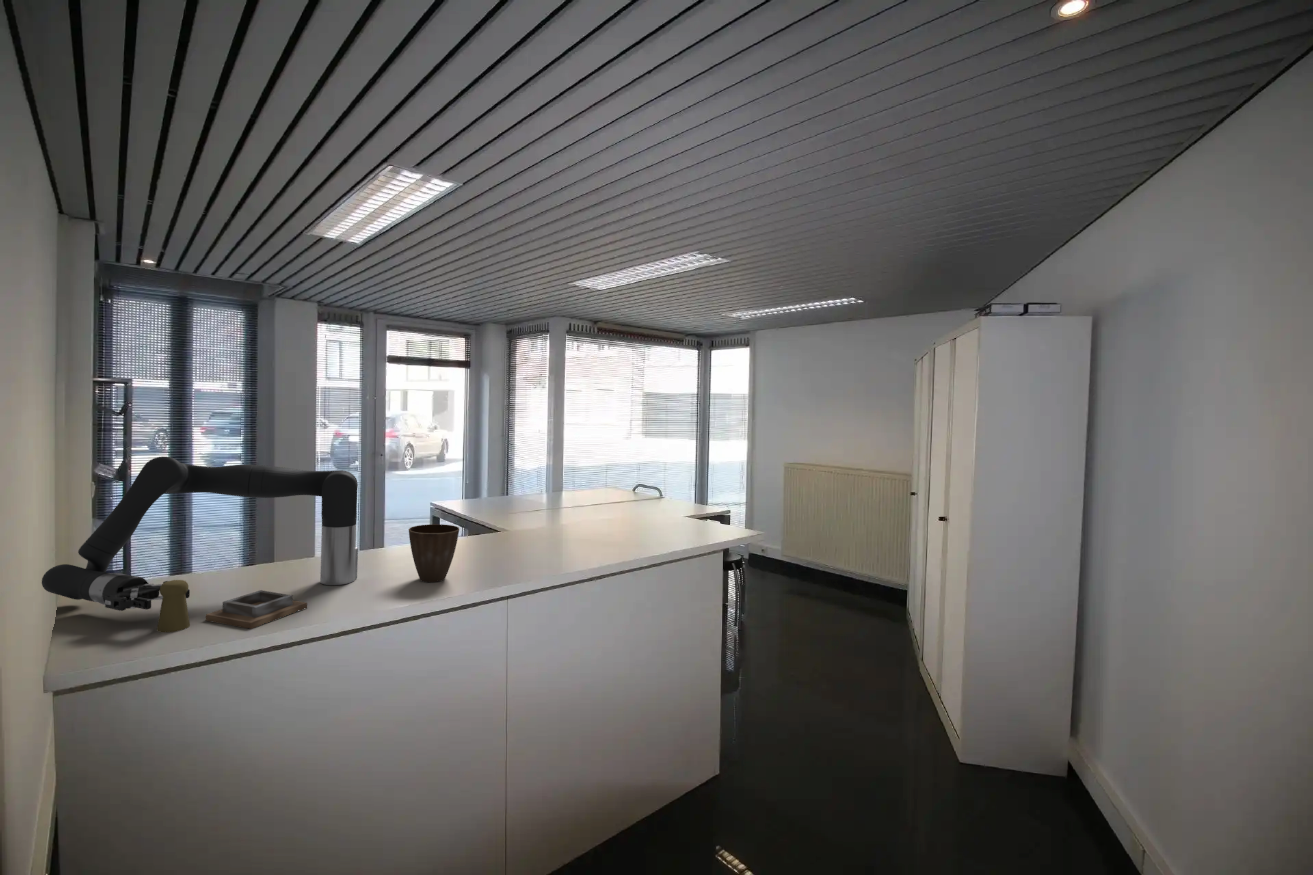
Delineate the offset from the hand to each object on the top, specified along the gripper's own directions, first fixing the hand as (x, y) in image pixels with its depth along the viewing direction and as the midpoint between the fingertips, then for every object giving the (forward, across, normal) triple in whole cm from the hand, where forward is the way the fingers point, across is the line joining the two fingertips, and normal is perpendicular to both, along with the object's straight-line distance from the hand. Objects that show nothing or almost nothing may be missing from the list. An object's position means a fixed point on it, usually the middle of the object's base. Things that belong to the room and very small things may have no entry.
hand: (169, 599), depth 141 cm
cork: (+2, 0, +7) cm, 7 cm away
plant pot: (+29, +58, +7) cm, 65 cm away
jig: (+10, +14, +7) cm, 19 cm away
